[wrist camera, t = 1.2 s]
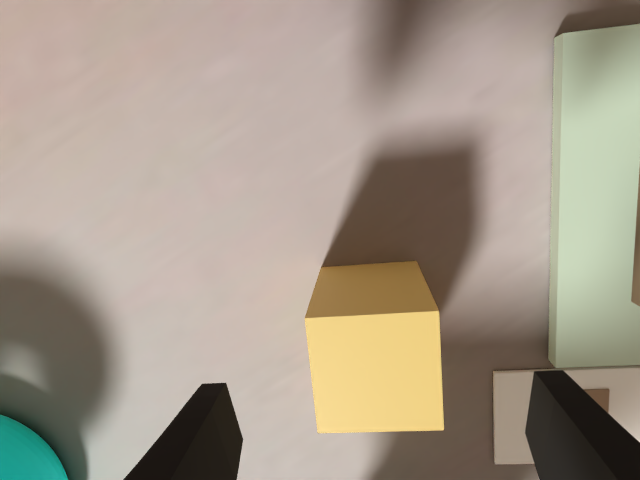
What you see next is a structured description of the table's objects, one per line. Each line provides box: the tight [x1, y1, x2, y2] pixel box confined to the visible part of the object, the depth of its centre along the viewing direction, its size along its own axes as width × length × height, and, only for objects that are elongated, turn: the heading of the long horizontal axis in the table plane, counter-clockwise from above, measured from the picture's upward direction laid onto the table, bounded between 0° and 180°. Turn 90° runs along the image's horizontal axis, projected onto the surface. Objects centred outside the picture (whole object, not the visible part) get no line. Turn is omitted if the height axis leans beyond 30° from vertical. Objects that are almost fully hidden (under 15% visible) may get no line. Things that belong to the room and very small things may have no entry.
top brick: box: [305, 261, 444, 433], centre depth 18 cm, size 4×4×6 cm
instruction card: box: [493, 366, 640, 464], centre depth 21 cm, size 5×7×1 cm
